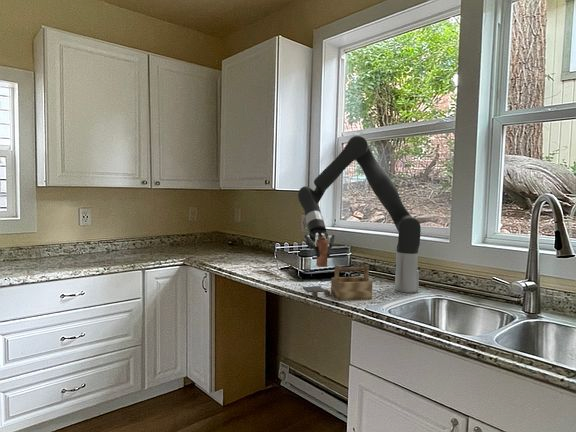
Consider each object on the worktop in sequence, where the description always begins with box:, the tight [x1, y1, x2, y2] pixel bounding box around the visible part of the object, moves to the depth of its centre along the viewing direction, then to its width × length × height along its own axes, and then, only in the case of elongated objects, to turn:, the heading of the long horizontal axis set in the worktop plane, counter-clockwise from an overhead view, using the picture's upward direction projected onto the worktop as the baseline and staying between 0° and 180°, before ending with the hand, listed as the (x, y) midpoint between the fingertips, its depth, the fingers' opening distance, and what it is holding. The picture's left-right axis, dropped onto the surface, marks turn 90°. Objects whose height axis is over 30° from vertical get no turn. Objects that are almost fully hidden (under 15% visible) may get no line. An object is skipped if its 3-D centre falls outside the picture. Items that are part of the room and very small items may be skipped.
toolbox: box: [330, 264, 373, 301], centre depth 164 cm, size 14×10×13 cm
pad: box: [302, 285, 325, 293], centre depth 175 cm, size 8×8×1 cm
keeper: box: [311, 288, 331, 298], centre depth 165 cm, size 7×4×2 cm, turn 103°
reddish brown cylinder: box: [315, 237, 329, 268], centre depth 164 cm, size 4×4×12 cm
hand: (323, 255), depth 162 cm, fingers closed on reddish brown cylinder, 3 cm apart
